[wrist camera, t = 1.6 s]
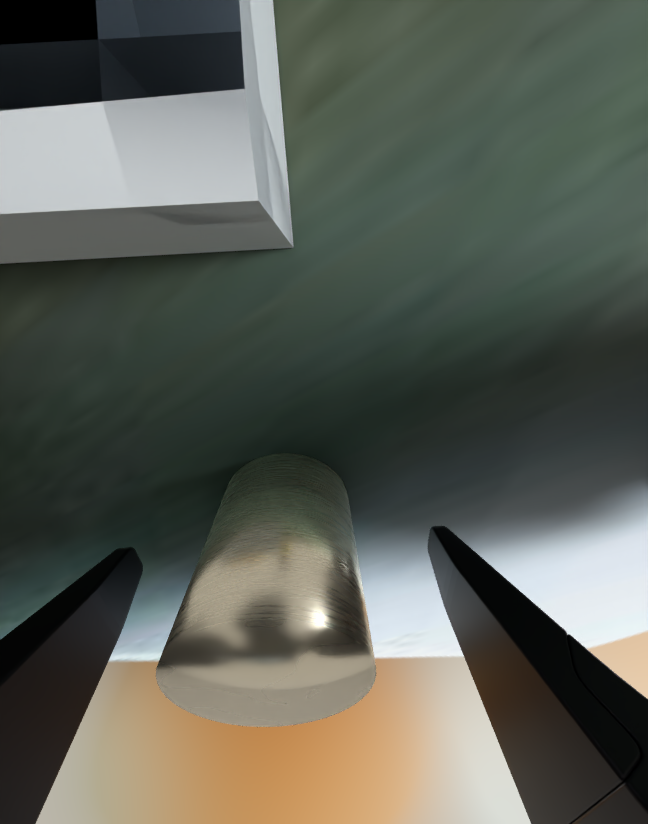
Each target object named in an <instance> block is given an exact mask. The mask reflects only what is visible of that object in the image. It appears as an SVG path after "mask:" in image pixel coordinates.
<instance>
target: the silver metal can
mask: <svg viewBox="0 0 648 824" xmlns="http://www.w3.org/2000/svg"><path fill="white" fill-rule="evenodd" d="M375 677H376V666H375V660H374V654H373V647H372V641H371V635H370V629H369V623H368V617H367V611H366V604H365V598H364V592H363V586H362V580H361V574H360V568H359V561H358V555H357V549H356V543H355V537H354V531H353V524H352V518H351V512H350V506H349V500H348V494H347V490H346V487H345V485H344V483H343V481H342V480H341V478H340V477H339V476H338V474H337V473H336V472H335V471H334V470H332V469H331V468H330V467H329V466H327V465H326V464H324V463H323V462H321V461H318V460H316V459H314V458H311V457H308V456H304V455H300V454H291V453H279V454H271V455H267V456H263V457H260V458H257V459H255V460H253V461H251V462H249V463H247V464H246V465H244V466H243V467H241V468H240V469H239V470H238V471H237V472H236V473H235V474H234V476H233V477H232V478H231V480H230V482H229V484H228V486H227V489H226V491H225V494H224V496H223V499H222V502H221V504H220V507H219V509H218V512H217V514H216V517H215V519H214V522H213V525H212V527H211V530H210V532H209V535H208V537H207V540H206V542H205V545H204V548H203V550H202V553H201V555H200V558H199V560H198V563H197V566H196V568H195V571H194V573H193V576H192V578H191V581H190V583H189V586H188V589H187V591H186V594H185V596H184V599H183V601H182V604H181V606H180V609H179V612H178V614H177V617H176V619H175V622H174V624H173V627H172V630H171V632H170V635H169V637H168V640H167V642H166V645H165V647H164V650H163V653H162V655H161V658H160V660H159V663H158V666H157V669H156V679H157V683H158V685H159V687H160V689H161V691H162V692H163V693H164V695H165V696H166V697H167V698H168V699H169V700H171V701H172V702H173V703H174V704H176V705H177V706H179V707H180V708H182V709H184V710H186V711H188V712H190V713H192V714H195V715H197V716H200V717H203V718H206V719H209V720H213V721H217V722H221V723H227V724H232V725H242V726H256V727H274V726H288V725H296V724H302V723H307V722H312V721H316V720H320V719H323V718H327V717H329V716H332V715H335V714H337V713H339V712H342V711H344V710H346V709H348V708H349V707H351V706H353V705H354V704H356V703H357V702H358V701H360V700H361V699H362V698H363V697H364V696H365V695H366V694H367V693H368V692H369V691H370V689H371V688H372V686H373V684H374V681H375Z"/></svg>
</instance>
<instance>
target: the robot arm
mask: <svg viewBox="0 0 648 824" xmlns="http://www.w3.org/2000/svg"><path fill="white" fill-rule="evenodd" d="M428 553H429V556H430V560H431V563H432V566H433V570H434V573H435V577H436V580H437V584H438V587H439V590H440V594H441V597H442V600H443V604H444V607H445V609H446V612H447V615H448V617H449V620H450V622H451V625H452V627H453V630H454V632H455V635H456V637H457V640H458V642H459V645H460V647H461V650H462V652H463V655H464V657H465V660H466V662H467V665H468V667H469V670H470V672H471V675H472V677H473V680H474V682H475V684H476V687H477V690H478V692H479V695H480V697H481V700H482V702H483V705H484V707H485V709H486V712H487V714H488V717H489V719H490V722H491V725H492V727H493V729H494V732H495V734H496V737H497V739H498V742H499V744H500V747H501V749H502V752H503V754H504V757H505V759H506V762H507V764H508V767H509V769H510V772H511V774H512V777H513V779H514V782H515V784H516V787H517V789H518V792H519V794H520V797H521V799H522V802H523V804H524V807H525V809H526V812H527V814H528V817H529V819H530V821H531V824H648V699H647V698H646V697H644V696H643V695H642V694H640V693H639V692H638V691H637V690H636V689H634V688H633V687H632V686H631V685H629V684H628V683H627V682H626V681H624V680H623V679H622V678H620V677H619V676H618V675H617V674H615V673H614V672H613V671H612V670H611V669H610V668H608V667H607V666H606V665H605V664H604V663H602V662H601V661H600V660H599V659H598V658H597V657H595V656H594V655H593V654H592V653H591V652H589V651H588V650H587V649H586V648H585V647H584V646H582V645H581V644H580V643H579V642H578V641H577V640H576V639H574V638H573V637H572V636H571V635H569V634H568V635H567V632H566V631H565V630H564V629H563V628H562V627H560V626H559V625H558V624H557V623H556V622H555V621H554V620H552V619H551V618H550V617H549V616H548V615H547V614H546V613H544V612H543V611H542V610H541V609H540V608H539V607H538V606H536V605H535V604H534V603H533V602H532V601H531V600H529V599H528V598H527V597H526V596H525V595H524V594H523V593H521V592H520V591H519V590H518V589H517V588H516V587H515V586H513V585H512V584H511V583H510V582H509V581H508V580H507V579H505V578H504V577H503V576H502V575H501V574H500V573H498V572H497V571H496V570H495V569H494V568H493V567H492V566H490V565H489V564H488V563H487V562H486V561H485V560H484V559H482V558H481V557H480V556H479V555H478V554H477V553H476V552H474V551H473V550H472V549H471V548H470V547H469V546H468V545H466V544H465V543H464V542H463V541H462V540H461V539H459V538H458V537H457V536H456V535H455V534H454V533H453V532H451V531H450V530H449V529H448V528H447V527H445V526H433V527H431V528H430V533H429V539H428ZM142 571H143V565H142V563H141V561H140V559H139V557H138V555H137V553H136V551H135V549H134V548H132V547H127V548H119V549H116V550H115V551H114V552H112V553H111V554H110V555H108V556H107V557H106V558H105V559H103V560H102V561H101V562H99V563H98V564H97V565H96V566H94V567H93V568H92V569H91V570H89V571H88V572H87V573H85V574H84V575H83V576H82V577H80V578H79V579H78V580H76V581H75V582H74V583H73V584H71V585H70V586H69V587H67V588H66V589H65V590H64V591H62V592H61V593H60V594H59V595H57V596H56V597H55V598H53V599H52V600H51V601H50V602H48V603H47V604H46V605H44V606H43V607H42V608H41V609H39V610H38V611H37V612H35V613H34V614H33V615H32V616H30V617H29V618H28V619H27V620H25V621H24V622H23V623H21V624H20V625H19V626H18V627H16V628H15V629H14V630H12V631H11V632H10V633H9V634H7V635H6V636H5V637H3V638H2V639H1V640H0V824H35V823H36V821H37V819H38V817H39V814H40V812H41V810H42V808H43V805H44V803H45V801H46V799H47V797H48V794H49V792H50V790H51V788H52V786H53V783H54V781H55V779H56V777H57V774H58V772H59V770H60V768H61V765H62V763H63V761H64V759H65V757H66V754H67V752H68V750H69V748H70V745H71V743H72V741H73V739H74V736H75V734H76V732H77V729H78V727H79V725H80V723H81V721H82V718H83V716H84V714H85V712H86V710H87V708H88V705H89V703H90V700H91V698H92V696H93V694H94V692H95V690H96V687H97V685H98V683H99V681H100V678H101V676H102V674H103V672H104V669H105V667H106V665H107V663H108V661H109V658H110V656H111V654H112V652H113V649H114V647H115V645H116V643H117V641H118V638H119V636H120V634H121V631H122V629H123V626H124V623H125V621H126V618H127V615H128V612H129V609H130V607H131V604H132V601H133V598H134V595H135V592H136V589H137V586H138V584H139V581H140V578H141V575H142Z"/></svg>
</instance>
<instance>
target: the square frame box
mask: <svg viewBox="0 0 648 824" xmlns="http://www.w3.org/2000/svg"><path fill="white" fill-rule="evenodd" d="M280 248H294V247H293V235H292V223H291V211H290V199H289V187H288V176H287V164H286V152H285V140H284V128H283V116H282V104H281V92H280V81H279V69H278V57H277V45H276V33H275V21H274V9H273V0H0V264H5V263H23V262H42V261H60V260H78V259H97V258H115V257H133V256H152V255H170V254H189V253H207V252H225V251H244V250H262V249H280Z"/></svg>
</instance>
